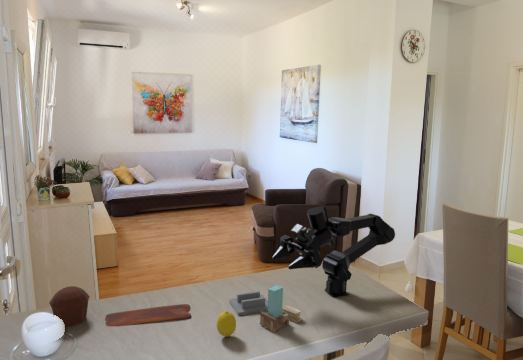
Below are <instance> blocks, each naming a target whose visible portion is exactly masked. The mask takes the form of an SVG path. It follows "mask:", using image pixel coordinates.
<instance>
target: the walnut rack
mask: <svg viewBox="0 0 523 360" xmlns="http://www.w3.org/2000/svg"><path fill="white" fill-rule="evenodd" d="M288 317H289V315H288V314H284V315H282V316H280V317H278V318H275V317H273V316H271V315H269V314H268V312H266V311H264V312H260V318H259V319H260V322H259V324H260V326H261V327H263V328H266V329H267V330H270V331H271V332H272V333H273V332H274V333H276V332H277V331H278V330H279V329H281V328H283V327H285V326H289V325H290V320H288Z"/></svg>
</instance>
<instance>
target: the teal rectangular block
mask: <svg viewBox="0 0 523 360" xmlns="http://www.w3.org/2000/svg"><path fill="white" fill-rule="evenodd" d="M267 291H268V292H267V301H268V311H267V313H268V314H269V315H271V316H273V317H275V318H278V317H280V316H282V307H283V306H284V304H283V303H284V302H283V300H284V299H283V298H284V295H283V294H284V286H281V285H278V284H277V285H274V286H271V287H269V288H268V290H267Z"/></svg>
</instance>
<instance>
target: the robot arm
mask: <svg viewBox="0 0 523 360" xmlns="http://www.w3.org/2000/svg"><path fill="white" fill-rule="evenodd" d="M306 214H307V218H308V220H309V225H310V227H308V228H307V227H305V226H304V225H301V224H299V223H296V224H295V225H294V226H293V227H292V228H291V229H290V232H291V233H292V234H293V235H294V236H295V238H293V237H290V236H288V235H286V234H283V235H282V236H280V237H279V239H280V240H279V241H280V246H279V247H278V249H277V250H276V252H274V254H273V256H272V257H271V258H272V260H273V261H276V260H280V259H283V258H286V257H290V256H291V255H293V254H294V253H295V252H297V253H299V255H300V256H299V257H297V258H296V259H295V260H294V261H293V262H291V263H290V264H289V265H288V266H287V268H288V269H289V270H296V269H297V270H298V269H305V268H306V269H313V268H316V269H318V268H320V267H321V266H322V269H323V273H324V274H325V275H327V280H326V283H325V284H326V285H325V288H324V291H325V292H326V293H327V294H328V295H330V296H331V297H332V298H336V297H337V298H338V297H344V296H348V295H349V292H348V291H347V283H348V281H349V280H351V279H352V278H351V277H352V274H353V273H352V272H351V271H350V270H349V269H350V266H351V264H352V263H354V262H355V261H357V260H358V259H359V258H361V257H362V256H363V255H365V254H366V253H368V252H370V251H371V250H372V249H374V248H375V247H378V246H382V245H387V244H389V243H391V242H393V241H394V239H395V238H396V232H395V229H394V227H392V226H391V225H389V223H387V222H386V221H385V220H383V218H382V217H381V216H379V215H377V214H374V213H367V214H365V215H358V216H354V217H353V216H352V217H347V218H342V217H335V216H334V217H333V216H332V217H329V216H328V212H327V207H326V206H323V205H320V206H317V207H316V206H315V207H311V208H308V209H307V211H306ZM366 228H368V229H369V231H368V235H365V237H363V238H362V239H360V240H359V241H357V242H356V243H354V244H352V245H351V246H349V247H347V248H346V249H345V250H343V251H341V252H340V251H338V250H336V249H335V250H332V251H331V252H329V254H326V256H325V257H324V258H323V259H322V255H321V253H320V252H321V248H322V247H323V246H325V245H329V246H331V247H334V245H335V238H334V237H333V236H336V237H339V238H343V237H345V236H347V235H349V234H351V232H352V231H353V232H354V231H356V230H361V229H366ZM294 240H295V242H296V243H295V242H294Z"/></svg>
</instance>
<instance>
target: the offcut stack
mask: <svg viewBox="0 0 523 360" xmlns="http://www.w3.org/2000/svg"><path fill="white" fill-rule="evenodd" d="M284 314H288V315H289V317H288V320H289V321H291V322H293V323H295V324H298V323H299V322H300V321H303V317H302V316H301V314H302V312H301V310H299V309H296V308H294V307H292V306H290V305H287V304H285V305H282V315H284Z"/></svg>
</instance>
